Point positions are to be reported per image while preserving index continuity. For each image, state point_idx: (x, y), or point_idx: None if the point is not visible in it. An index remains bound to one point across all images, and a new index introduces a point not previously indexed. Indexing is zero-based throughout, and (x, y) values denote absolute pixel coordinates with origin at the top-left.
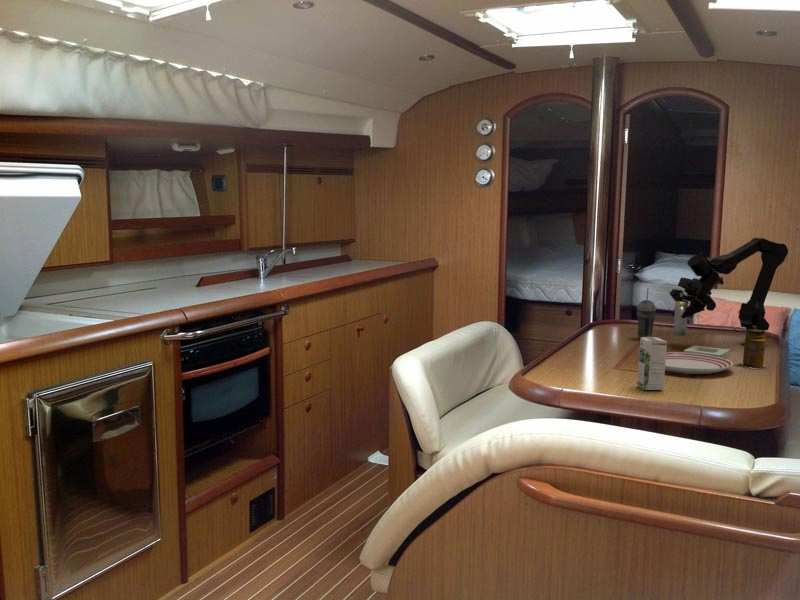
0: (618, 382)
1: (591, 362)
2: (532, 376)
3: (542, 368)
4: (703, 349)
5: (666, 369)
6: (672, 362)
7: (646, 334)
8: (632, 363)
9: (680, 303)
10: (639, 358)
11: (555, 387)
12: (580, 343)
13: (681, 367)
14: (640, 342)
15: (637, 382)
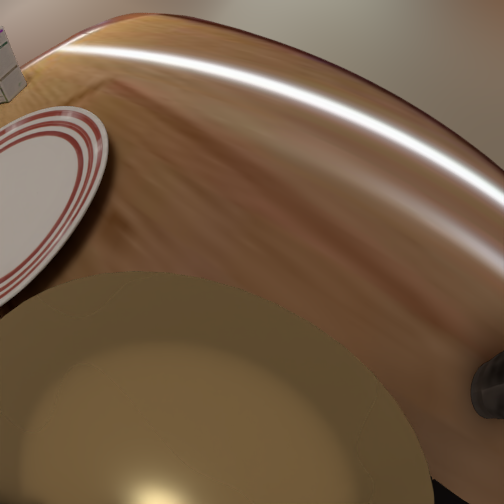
0: (54, 71)
1: (176, 63)
2: (148, 18)
3: (179, 24)
4: None
5: (17, 137)
6: (43, 196)
7: (491, 375)
8: (117, 116)
9: (25, 328)
10: (11, 51)
11: (95, 30)
12: (416, 128)
13: (6, 184)
14: (4, 31)
15: (24, 79)
